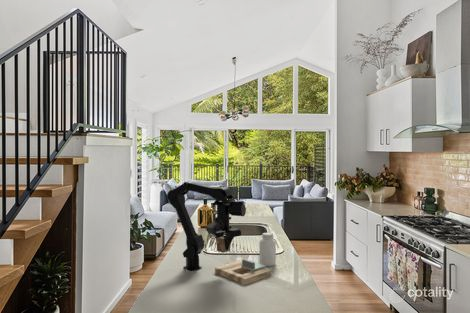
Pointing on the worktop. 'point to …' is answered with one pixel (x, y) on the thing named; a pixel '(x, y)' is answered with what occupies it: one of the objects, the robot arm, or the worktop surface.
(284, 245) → the worktop surface
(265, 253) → the pill bottle
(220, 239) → the block
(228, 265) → the wooden board with hole
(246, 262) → the cover
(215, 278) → the worktop surface
